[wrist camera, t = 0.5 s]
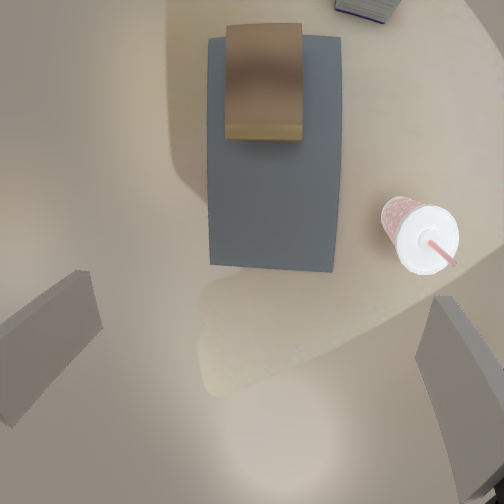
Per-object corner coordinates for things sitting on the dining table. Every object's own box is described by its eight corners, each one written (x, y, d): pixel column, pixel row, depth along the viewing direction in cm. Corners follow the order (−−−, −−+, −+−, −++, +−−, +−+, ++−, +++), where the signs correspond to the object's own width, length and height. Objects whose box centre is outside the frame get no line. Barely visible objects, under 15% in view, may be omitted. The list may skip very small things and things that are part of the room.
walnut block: (244, 51, 27) (226, 25, 20) (302, 51, 26) (301, 23, 19) (244, 140, 31) (225, 139, 23) (302, 142, 30) (302, 140, 22)
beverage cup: (433, 208, 30) (499, 248, 17) (406, 252, 32) (455, 315, 19) (392, 178, 30) (447, 203, 17) (363, 226, 32) (399, 279, 19)
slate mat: (209, 40, 28) (208, 38, 27) (339, 38, 26) (340, 37, 25) (211, 262, 36) (210, 264, 36) (331, 270, 34) (332, 272, 34)
